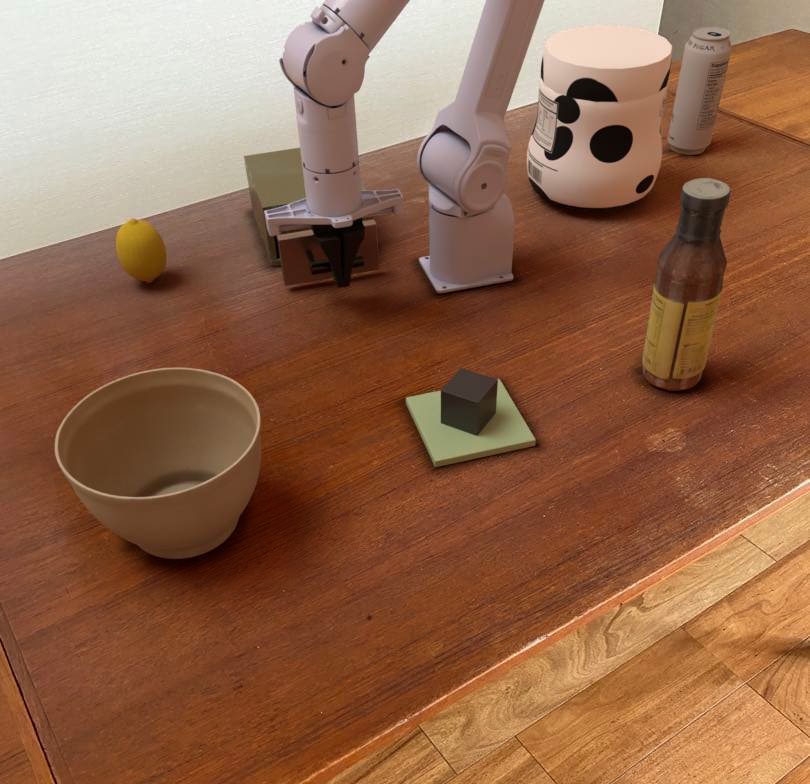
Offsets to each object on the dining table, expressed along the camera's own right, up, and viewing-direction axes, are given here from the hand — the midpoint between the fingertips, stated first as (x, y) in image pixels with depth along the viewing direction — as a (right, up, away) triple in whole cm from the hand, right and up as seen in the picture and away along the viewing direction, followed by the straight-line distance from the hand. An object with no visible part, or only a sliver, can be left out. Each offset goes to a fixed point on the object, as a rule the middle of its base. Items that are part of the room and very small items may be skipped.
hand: (341, 282), depth 97 cm
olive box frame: (-5, +11, +15) cm, 20 cm away
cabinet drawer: (-3, +5, +9) cm, 10 cm away
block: (+13, -17, -13) cm, 25 cm away
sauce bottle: (+34, -12, -7) cm, 37 cm away
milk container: (+32, +18, +20) cm, 42 cm away
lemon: (-24, +2, +8) cm, 25 cm away
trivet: (+13, -17, -12) cm, 25 cm away
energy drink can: (+48, +28, +29) cm, 62 cm away
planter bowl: (-12, -27, -20) cm, 36 cm away
